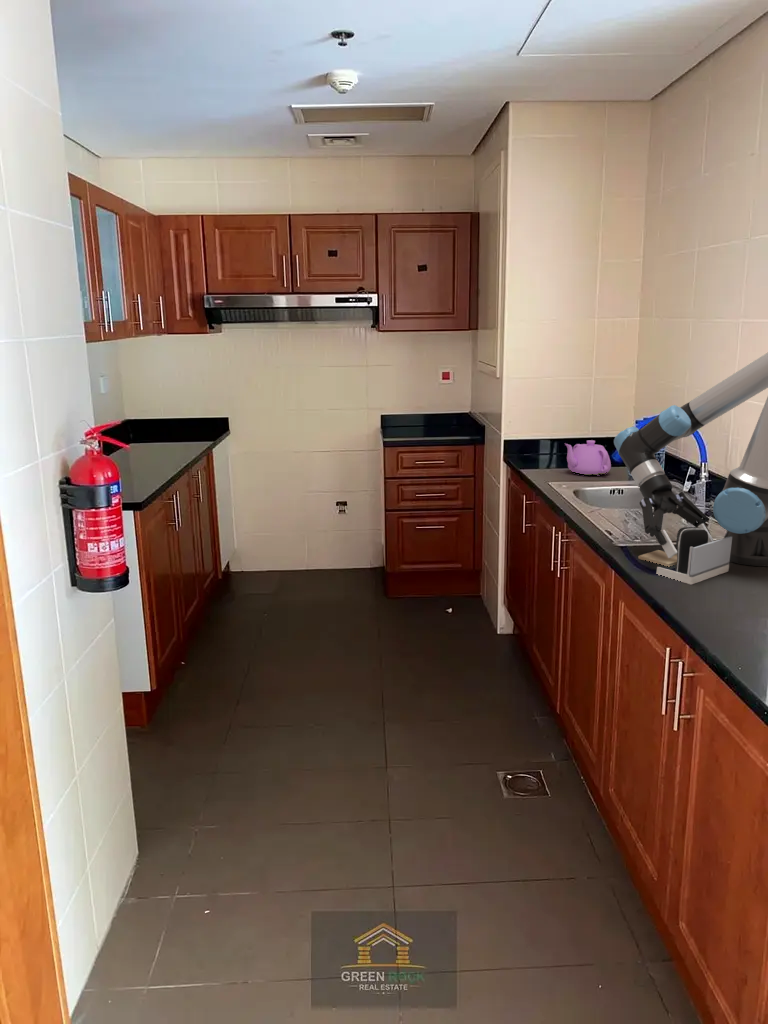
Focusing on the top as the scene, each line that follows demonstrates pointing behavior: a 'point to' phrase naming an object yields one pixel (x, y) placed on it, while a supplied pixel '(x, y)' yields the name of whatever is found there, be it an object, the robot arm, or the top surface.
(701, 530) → the battery charger
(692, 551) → the legged metal plate
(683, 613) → the top surface
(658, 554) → the oak pad
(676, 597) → the top surface
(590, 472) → the teapot
